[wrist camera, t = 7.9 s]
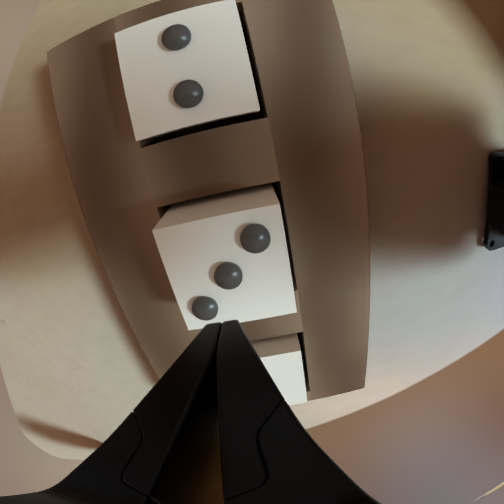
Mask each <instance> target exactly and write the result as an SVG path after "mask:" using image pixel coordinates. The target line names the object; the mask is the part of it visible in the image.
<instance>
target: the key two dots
mask: <svg viewBox="0 0 504 504" xmlns="http://www.w3.org/2000/svg"><path fill="white" fill-rule="evenodd" d="M114 35H115V41H116V47H117V53H118V59H119V64H120V70H121V75H122V80H123V85H124V90H125V95H126V100H127V104H128V109H129V113H130V118H131V122H132V126H133V131H134V135H135V139H136V141H139V140H143V139H148V138H152V137H157V136H161V135H164V134H168V133H171V132H175V131H179V130H182V129H186V128H190V127H194V126H198V125H202V124H206V123H210V122H215V121H219V120H224V119H228V118H233V117H238V116H243V115H248V114H253V113H257V112H258V111H260V107H259V102H258V98H257V93H256V88H255V83H254V79H253V74H252V70H251V65H250V61H249V56H248V52H247V47H246V43H245V39H244V34H243V30H242V26H241V22H240V18H239V14H238V9H237V5H236V1H235V0H224V1H219V2H214V3H209V4H205V5H200V6H196V7H192V8H188V9H185V10H181V11H177V12H174V13H170V14H167V15H164V16H161V17H157V18H154V19H151V20H148V21H146V22H143V23H140V24H137V25H135V26H132V27H129V28H127V29H124V30H122V31H119V32H117V33H114Z"/></svg>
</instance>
